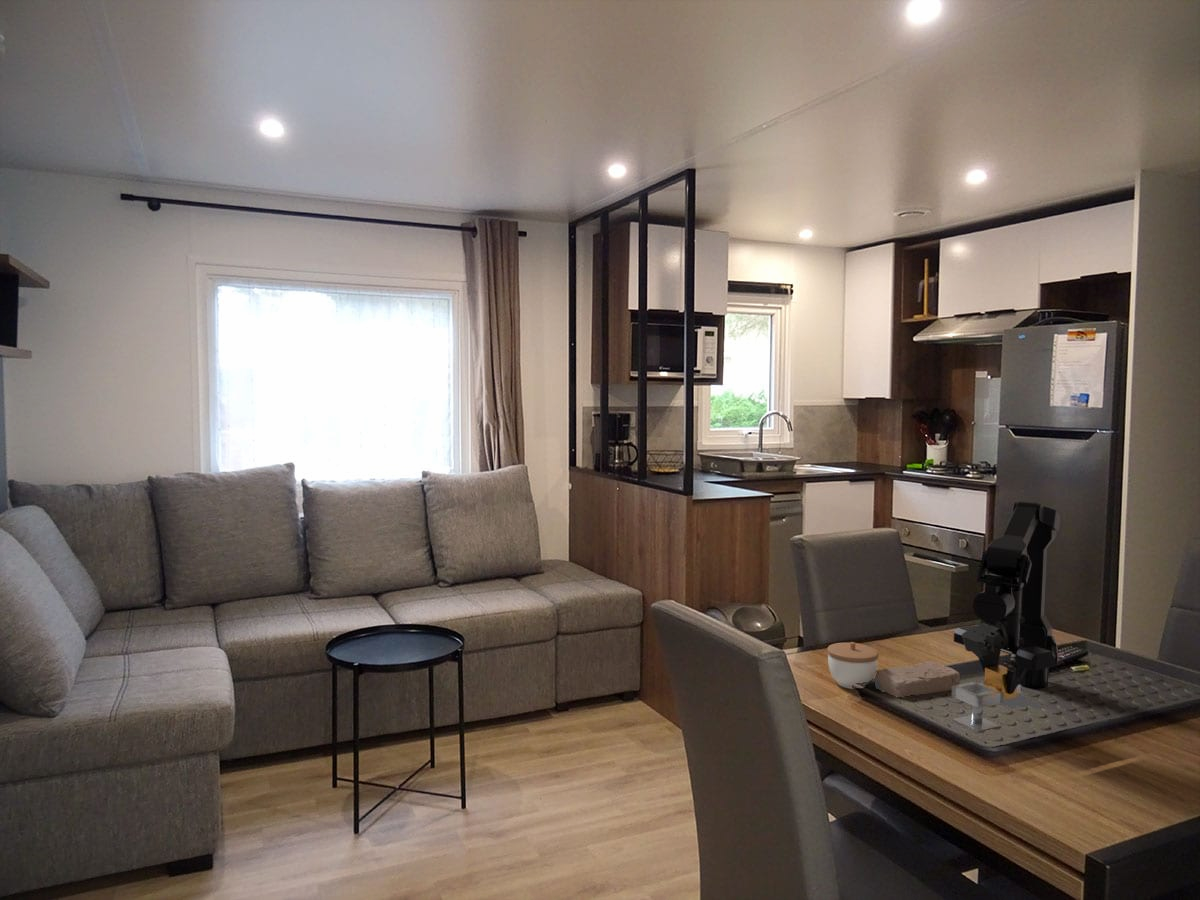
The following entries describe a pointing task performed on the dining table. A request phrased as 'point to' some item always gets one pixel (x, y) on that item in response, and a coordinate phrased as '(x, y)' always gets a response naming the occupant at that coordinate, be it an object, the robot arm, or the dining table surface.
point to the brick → (917, 679)
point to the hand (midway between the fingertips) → (1000, 689)
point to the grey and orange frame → (986, 689)
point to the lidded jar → (852, 663)
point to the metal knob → (976, 721)
